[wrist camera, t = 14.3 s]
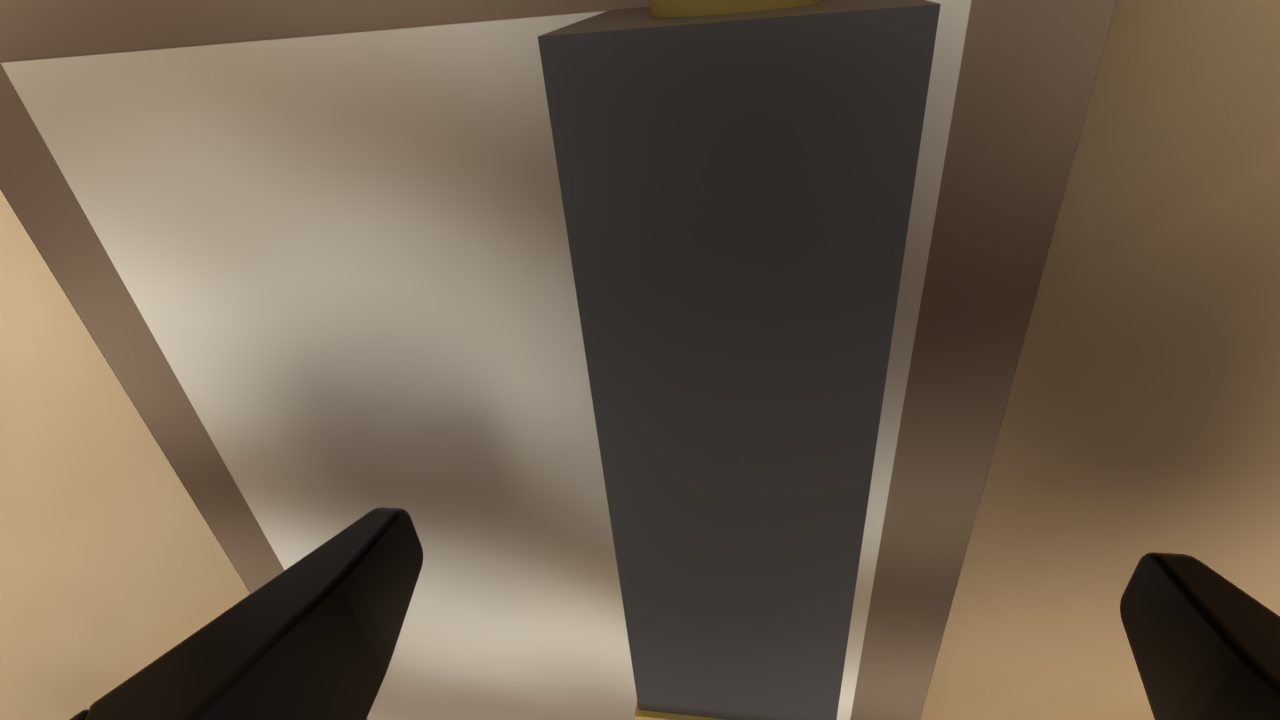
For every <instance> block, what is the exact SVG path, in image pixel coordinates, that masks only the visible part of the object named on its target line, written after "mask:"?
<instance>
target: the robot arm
mask: <svg viewBox="0 0 1280 720" xmlns="http://www.w3.org/2000/svg"><path fill="white" fill-rule="evenodd" d="M422 564H423V549H422V546H421V543H420V540H419V538H418V535H417V532H416V530H415V527H414V524H413V522H412V519H411V517H410V515H409V513H408V512H407V511H406V510H405V509H402V508H386V507H379V508H375V509H373V510H371V511H370V512H368V513H367V514H365V515H364V516H363V517H361V518H360V519H358V520H357V521H355V522H354V523H352V524H351V525H350V526H348V527H347V528H345V529H344V530H342V531H341V532H339V533H338V534H337V535H335V536H334V537H332V538H331V539H329V540H328V541H326V542H325V543H324V544H322V545H321V546H319V547H318V548H316V549H315V550H314V551H312V552H311V553H309V554H308V555H306V556H305V557H303V558H302V559H301V560H299V561H298V562H296V563H295V564H293V565H292V566H290V567H289V568H288V569H286V570H285V571H283V572H282V573H280V574H279V575H277V576H276V577H275V578H273V579H272V580H270V581H269V582H267V583H266V584H265V585H263V586H262V587H260V588H259V589H257V590H256V591H254V592H253V593H252V594H250V595H249V596H247V597H246V598H244V599H243V600H241V601H240V602H239V603H237V604H236V605H234V606H233V607H231V608H230V609H228V610H227V611H226V612H224V613H223V614H221V615H220V616H218V617H217V618H216V619H214V620H213V621H211V622H210V623H208V624H207V625H205V626H204V627H203V628H201V629H200V630H198V631H197V632H195V633H194V634H192V635H191V636H190V637H188V638H187V639H185V640H184V641H182V642H181V643H179V644H178V645H177V646H175V647H174V648H172V649H171V650H169V651H168V652H166V653H165V654H164V655H162V656H161V657H159V658H158V659H156V660H155V661H154V662H152V663H151V664H149V665H148V666H146V667H145V668H143V669H142V670H141V671H139V672H138V673H136V674H135V675H133V676H132V677H130V678H129V679H128V680H126V681H125V682H123V683H122V684H120V685H119V686H117V687H116V688H115V689H113V690H112V691H110V692H109V693H107V694H106V695H104V696H103V697H102V698H100V699H99V700H97V701H96V702H94V703H93V704H92V705H91V706H90V708H89V710H83V711H81V712H80V713H78V714H77V715H75V716H74V717H72V718H71V719H70V720H366V719H367V717H368V714H369V712H370V710H371V708H372V705H373V703H374V701H375V699H376V696H377V694H378V692H379V689H380V687H381V685H382V682H383V680H384V677H385V675H386V672H387V670H388V667H389V664H390V661H391V659H392V656H393V653H394V650H395V647H396V644H397V641H398V638H399V635H400V632H401V629H402V626H403V623H404V620H405V617H406V614H407V611H408V607H409V604H410V601H411V598H412V595H413V592H414V589H415V586H416V583H417V580H418V577H419V574H420V571H421V568H422ZM1120 612H1121V618H1122V622H1123V625H1124V628H1125V631H1126V634H1127V637H1128V640H1129V643H1130V646H1131V649H1132V652H1133V655H1134V658H1135V661H1136V664H1137V667H1138V670H1139V673H1140V676H1141V679H1142V682H1143V685H1144V688H1145V691H1146V694H1147V697H1148V701H1149V704H1150V707H1151V710H1152V713H1153V716H1154V719H1155V720H1280V616H1278V615H1277V614H1275V613H1274V612H1272V611H1271V610H1270V609H1268V608H1267V607H1265V606H1264V605H1262V604H1261V603H1260V602H1258V601H1257V600H1255V599H1254V598H1252V597H1251V596H1249V595H1248V594H1247V593H1245V592H1244V591H1242V590H1241V589H1239V588H1238V587H1237V586H1235V585H1234V584H1232V583H1231V582H1229V581H1228V580H1226V579H1225V578H1224V577H1222V576H1221V575H1219V574H1218V573H1216V572H1215V571H1214V570H1212V569H1211V568H1209V567H1208V566H1206V565H1205V564H1203V563H1202V562H1201V561H1199V560H1197V559H1196V558H1194V557H1191V556H1188V555H1184V554H1171V553H1154V552H1153V553H1148V554H1146V555H1144V556H1143V557H1142V558H1141V559H1140V561H1139V563H1138V565H1137V567H1136V569H1135V571H1134V573H1133V575H1132V577H1131V579H1130V581H1129V583H1128V585H1127V587H1126V589H1125V592H1124V594H1123V596H1122V599H1121V604H1120Z"/></svg>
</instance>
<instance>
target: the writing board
mask: <svg viewBox="0 0 1280 720" xmlns="http://www.w3.org/2000/svg"><path fill="white" fill-rule="evenodd" d="M927 1H931V2H935V3H939V4H941V5H940V12H939V19H938V26H937V33H936V39H935V46H934V53H933V60H932V67H931V74H930V81H929V87H928V94H927V101H926V108H925V115H924V122H923V129H922V136H921V142H920V149H919V156H918V163H917V170H916V177H915V184H914V190H913V197H912V204H911V211H910V218H909V225H908V232H907V238H906V245H905V252H904V259H903V266H902V273H901V280H900V287H899V293H898V300H897V307H896V314H895V321H894V328H893V335H892V341H891V348H890V355H889V362H888V369H887V376H886V383H885V390H884V396H883V403H882V410H881V417H880V424H879V431H878V438H877V444H876V451H875V458H874V465H873V472H872V479H871V486H870V493H869V499H868V506H867V513H866V520H865V527H864V534H863V541H862V547H861V554H860V561H859V568H858V575H857V582H856V589H855V596H854V602H853V609H852V616H851V623H850V630H849V637H848V644H847V650H846V657H845V664H844V671H843V678H842V685H841V692H840V699H839V705H838V712H837V720H920V717H921V714H922V710H923V706H924V703H925V699H926V695H927V692H928V688H929V684H930V681H931V677H932V673H933V670H934V666H935V662H936V659H937V655H938V652H939V648H940V644H941V641H942V637H943V633H944V630H945V626H946V622H947V619H948V615H949V611H950V608H951V604H952V600H953V597H954V593H955V589H956V586H957V582H958V578H959V575H960V571H961V567H962V564H963V560H964V556H965V553H966V549H967V546H968V542H969V538H970V535H971V531H972V527H973V524H974V520H975V516H976V513H977V509H978V505H979V502H980V498H981V494H982V491H983V487H984V483H985V480H986V476H987V472H988V469H989V465H990V461H991V458H992V454H993V450H994V447H995V443H996V439H997V436H998V432H999V429H1000V425H1001V421H1002V418H1003V414H1004V410H1005V407H1006V403H1007V399H1008V396H1009V392H1010V388H1011V385H1012V381H1013V377H1014V374H1015V370H1016V366H1017V363H1018V359H1019V355H1020V352H1021V348H1022V344H1023V341H1024V337H1025V333H1026V330H1027V326H1028V323H1029V319H1030V315H1031V312H1032V308H1033V304H1034V301H1035V297H1036V293H1037V290H1038V286H1039V282H1040V279H1041V275H1042V271H1043V268H1044V264H1045V260H1046V257H1047V253H1048V249H1049V246H1050V242H1051V238H1052V235H1053V231H1054V227H1055V224H1056V220H1057V217H1058V213H1059V209H1060V206H1061V202H1062V198H1063V195H1064V191H1065V187H1066V184H1067V180H1068V176H1069V173H1070V169H1071V165H1072V162H1073V158H1074V154H1075V151H1076V147H1077V143H1078V140H1079V136H1080V132H1081V129H1082V125H1083V121H1084V118H1085V114H1086V111H1087V107H1088V103H1089V100H1090V96H1091V92H1092V89H1093V85H1094V81H1095V78H1096V74H1097V70H1098V67H1099V63H1100V59H1101V56H1102V52H1103V48H1104V45H1105V41H1106V37H1107V34H1108V30H1109V26H1110V23H1111V19H1112V15H1113V12H1114V8H1115V4H1116V1H1117V0H927ZM638 7H650V6H649V0H0V190H1V191H2V193H3V194H4V196H5V198H6V199H7V201H8V202H9V204H10V206H11V207H12V209H13V211H14V212H15V214H16V215H17V217H18V219H19V220H20V222H21V223H22V225H23V227H24V228H25V230H26V232H27V233H28V235H29V236H30V238H31V240H32V241H33V243H34V244H35V246H36V248H37V249H38V251H39V253H40V254H41V256H42V257H43V259H44V261H45V262H46V264H47V265H48V267H49V269H50V270H51V272H52V274H53V275H54V277H55V278H56V280H57V282H58V283H59V285H60V286H61V288H62V290H63V291H64V293H65V295H66V296H67V298H68V299H69V301H70V303H71V304H72V306H73V307H74V309H75V311H76V312H77V314H78V316H79V317H80V319H81V320H82V322H83V324H84V325H85V327H86V328H87V330H88V332H89V333H90V335H91V336H92V338H93V340H94V341H95V343H96V345H97V346H98V348H99V349H100V351H101V353H102V354H103V356H104V357H105V359H106V361H107V362H108V364H109V366H110V367H111V369H112V370H113V372H114V374H115V375H116V377H117V378H118V380H119V382H120V383H121V385H122V387H123V388H124V390H125V391H126V393H127V395H128V396H129V398H130V399H131V401H132V403H133V404H134V406H135V408H136V409H137V411H138V412H139V414H140V416H141V417H142V419H143V420H144V422H145V424H146V425H147V427H148V429H149V430H150V432H151V433H152V435H153V437H154V438H155V440H156V441H157V443H158V445H159V446H160V448H161V450H162V451H163V453H164V454H165V456H166V458H167V459H168V461H169V462H170V464H171V466H172V467H173V469H174V471H175V472H176V474H177V475H178V477H179V479H180V480H181V482H182V483H183V485H184V487H185V488H186V490H187V492H188V493H189V495H190V496H191V498H192V500H193V501H194V503H195V504H196V506H197V508H198V509H199V511H200V513H201V514H202V516H203V517H204V519H205V521H206V522H207V524H208V525H209V527H210V529H211V530H212V532H213V534H214V535H215V537H216V538H217V540H218V542H219V543H220V545H221V546H222V548H223V550H224V551H225V553H226V555H227V556H228V558H229V559H230V561H231V563H232V564H233V566H234V567H235V569H236V571H237V572H238V574H239V576H240V577H241V579H242V580H243V582H244V584H245V585H246V587H247V588H248V590H249V592H250V593H251V594H252V593H253V592H254V591H256V590H257V589H259V588H260V587H262V586H263V585H265V584H266V583H267V582H269V581H270V580H272V579H273V578H275V577H276V576H277V575H279V574H280V573H282V572H283V571H285V570H286V569H288V568H289V567H290V566H292V565H293V564H295V563H296V562H298V561H299V560H301V559H302V558H303V557H305V556H306V555H308V554H309V553H311V552H312V551H314V550H315V549H316V548H318V547H319V546H321V545H322V544H324V543H325V542H326V541H328V540H329V539H331V538H332V537H334V536H335V535H337V534H338V533H339V532H341V531H342V530H344V529H345V528H347V527H348V526H350V525H351V524H352V523H354V522H355V521H357V520H358V519H360V518H361V517H363V516H364V515H365V514H367V513H368V512H370V511H371V510H373V509H375V508H379V507H386V508H402V509H405V510H406V511H407V512H408V513H409V515H410V517H411V519H412V522H413V524H414V527H415V530H416V532H417V535H418V538H419V540H420V543H421V546H422V549H423V564H422V568H421V571H420V574H419V577H418V580H417V583H416V586H415V589H414V592H413V595H412V598H411V601H410V604H409V607H408V611H407V614H406V617H405V620H404V623H403V626H402V629H401V632H400V635H399V638H398V641H397V644H396V647H395V650H394V653H393V656H392V659H391V661H390V664H389V667H388V670H387V672H386V675H385V677H384V680H383V682H382V685H381V687H380V689H379V692H378V694H377V696H376V699H375V701H374V703H373V705H372V708H371V710H370V712H369V714H368V717H367V719H366V720H635V711H636V705H637V695H636V688H635V681H634V675H633V668H632V661H631V655H630V648H629V641H628V635H627V628H626V621H625V615H624V608H623V601H622V595H621V588H620V581H619V575H618V568H617V562H616V555H615V548H614V542H613V535H612V528H611V522H610V515H609V508H608V502H607V495H606V488H605V482H604V475H603V468H602V462H601V455H600V448H599V442H598V435H597V428H596V422H595V415H594V409H593V402H592V395H591V389H590V382H589V375H588V369H587V362H586V355H585V349H584V342H583V335H582V329H581V322H580V315H579V309H578V302H577V295H576V289H575V282H574V276H573V269H572V262H571V256H570V249H569V242H568V236H567V229H566V222H565V216H564V209H563V202H562V196H561V189H560V182H559V176H558V169H557V162H556V156H555V149H554V143H553V136H552V129H551V123H550V116H549V109H548V103H547V96H546V89H545V83H544V76H543V69H542V63H541V56H540V49H539V43H538V36H540V35H543V34H546V33H549V32H551V31H554V30H557V29H560V28H562V27H565V26H568V25H571V24H573V23H576V22H579V21H581V20H584V19H587V18H590V17H592V16H595V15H598V14H601V13H603V12H606V11H609V10H615V9H627V8H638Z"/></svg>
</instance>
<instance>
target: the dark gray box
mask: <svg viewBox="0 0 1280 720" xmlns="http://www.w3.org/2000/svg"><path fill="white" fill-rule="evenodd" d="M940 5H941V4H939V3H935V2H931V1H927V0H649V6H650V7H638V8H627V9H615V10H609V11H606V12H603V13H601V14H598V15H595V16H592V17H590V18H587V19H584V20H581V21H579V22H576V23H573V24H571V25H568V26H565V27H562V28H560V29H557V30H554V31H551V32H549V33H546V34H543V35H540V36H538V43H539V49H540V56H541V63H542V69H543V76H544V83H545V89H546V96H547V103H548V109H549V116H550V123H551V129H552V136H553V143H554V149H555V156H556V162H557V169H558V176H559V182H560V189H561V196H562V202H563V209H564V216H565V222H566V229H567V236H568V242H569V249H570V256H571V262H572V269H573V276H574V282H575V289H576V295H577V302H578V309H579V315H580V322H581V329H582V335H583V342H584V349H585V355H586V362H587V369H588V375H589V382H590V389H591V395H592V402H593V409H594V415H595V422H596V428H597V435H598V442H599V448H600V455H601V462H602V468H603V475H604V482H605V488H606V495H607V502H608V508H609V515H610V522H611V528H612V535H613V542H614V548H615V555H616V562H617V568H618V575H619V581H620V588H621V595H622V601H623V608H624V615H625V621H626V628H627V635H628V641H629V648H630V655H631V661H632V668H633V675H634V681H635V688H636V695H637V705H636V711H635V720H837V712H838V705H839V699H840V692H841V685H842V678H843V671H844V664H845V657H846V650H847V644H848V637H849V630H850V623H851V616H852V609H853V602H854V596H855V589H856V582H857V575H858V568H859V561H860V554H861V547H862V541H863V534H864V527H865V520H866V513H867V506H868V499H869V493H870V486H871V479H872V472H873V465H874V458H875V451H876V444H877V438H878V431H879V424H880V417H881V410H882V403H883V396H884V390H885V383H886V376H887V369H888V362H889V355H890V348H891V341H892V335H893V328H894V321H895V314H896V307H897V300H898V293H899V287H900V280H901V273H902V266H903V259H904V252H905V245H906V238H907V232H908V225H909V218H910V211H911V204H912V197H913V190H914V184H915V177H916V170H917V163H918V156H919V149H920V142H921V136H922V129H923V122H924V115H925V108H926V101H927V94H928V87H929V81H930V74H931V67H932V60H933V53H934V46H935V39H936V33H937V26H938V19H939V12H940Z"/></svg>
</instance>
